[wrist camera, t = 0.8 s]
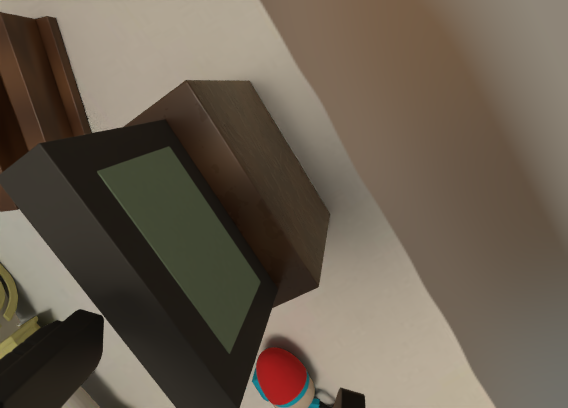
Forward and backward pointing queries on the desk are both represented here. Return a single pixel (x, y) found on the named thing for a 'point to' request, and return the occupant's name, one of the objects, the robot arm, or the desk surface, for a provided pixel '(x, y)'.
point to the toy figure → (284, 380)
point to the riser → (251, 177)
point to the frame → (152, 255)
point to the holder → (34, 91)
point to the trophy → (26, 335)
